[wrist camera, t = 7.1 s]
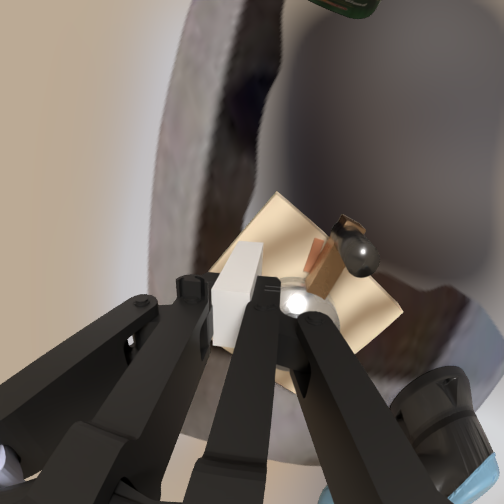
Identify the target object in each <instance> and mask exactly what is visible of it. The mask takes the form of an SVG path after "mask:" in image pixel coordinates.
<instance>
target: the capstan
mask: <svg viewBox="0 0 504 504" xmlns="http://www.w3.org/2000/svg"><path fill="white" fill-rule="evenodd" d="M365 231H366V230H365V228H363V227H362V225H361V224H359V223H358V222H356V221H354V220H352V219H350V218H349V217H347V216H345V215H343V214H342V215H341V216H340V218H339V220H338V222H337V223H336V224H335V225H334V226H333V228H332V230H331V235H330V237H329V239H328V241H327V242H326V244H325V246H324V248H323V250H322V251H321V253H320V255H319V257H318V259H317V260H316V262H315V264H314V266H313V267H312V269H311V271H310V273H309V274H308V276H307V278H306V279H305V278H301V277H283V278H279V280H280V281H281V294H280V309H281V311H282V312H283V313H284V314H286V315H288V316H290V317H293V318H297V317H298V316H299V315H300V314H301V313H303V312H307V311H318V312H322V313H324V314H326V315H328V316H329V317H330V318H331V319H332V321H333V322H334V324H335V325H336V327H337V328H338V330H339V331H340V321H339V317H338V314H337V310H336V307H335V304H334V301H333V299H332V297H331V295H330V294H329V293H330V291H331V289H332V288H333V286H334V284H335V283H336V281H337V280H338V278H339V276H340V275H341V273H342V271H343V270H344V268H345V266H346V268H347V270H348V272H349V273H350V274H351V275H353V276H354V277H357V278H365V277H368V276H370V275H372V274H373V273H374V272H375V271H376V269H377V268H378V266H379V263H380V256H379V253H378V251H377V249H376V248H375V247H374V246H373V245H372V244H371V243H370V241H369V240H368V239H367V238H366V237H365V236H364V233H365ZM276 369H279V370H282V371H288V372H290V371H289V368H286V367H283V366H280V365H276Z"/></svg>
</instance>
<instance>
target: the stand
mask: <svg viewBox="0 0 504 504" xmlns="http://www.w3.org/2000/svg"><path fill="white" fill-rule="evenodd" d="M328 239H329V236H327V235H326V234H325V233H324V232H323V231H322V230H321V229H320V228H319V227H317V226H316V225H315V224H314V223H313V222H312V221H311V220H310V219H308V218H307V217H306V216H305V215H304V214H303V213H302V212H300V211H299V210H298V209H297V208H296V207H295V206H293V205H292V204H291V203H290V202H289V201H288V200H287V199H285V198H284V197H283V196H282V195H281V194H280V193H278V192H276V193H275V194H274V195H273V196H272V197H271V198H270V199H269V201H268V202H267V203H266V204H265V205H264V207H263V208H262V209H261V210H260V211H259V212H258V213H257V215H256V216H255V217H254V218H253V219H252V221H251V222H250V223H249V224H248V225H247V226H246V227H245V229H244V230H243V231H242V232H241V233H240V234H239V236H238V237H237V238H236V239H235V240H234V241H233V243H232V244H231V245H230V246H229V247H228V249H227V250H226V251H225V252H224V253H223V254H222V256H221V257H220V258H219V259H218V260H217V262H216V263H215V264H214V265H213V266H212V268H211V269H210V270H209V271H208V272H215V273H221V271H222V269H223V268H224V266H225V264H226V262H227V260H228V259H229V257H230V255H231V253H232V251H233V250H234V248H235V246H236V244H237V243H238V241H248V242H262V243H264V244H263V261H262V276H269V277H278V279H279V278H283V277H301V278H305V279H306V278H307V276H308V274H309V273H310V271H311V269H312V267H313V266H314V264H315V262H316V260H317V259H318V257H319V255H320V253H321V251H322V250H323V248H324V246H325V244H326V242H327V241H328ZM329 294H330V295H331V297H332V299H333V301H334V304H335V307H336V310H337V314H338V317H339V321H340V333H341V334H342V336H343V337H344V339H345V340H346V342H347V343H348V345H349V346H350V348H351V349H352V351H353V353H354V354H355V353H357V352H358V351H359V350H360V349H362V348H363V347H364V346H365V345H367V344H368V343H369V342H370V341H371V340H373V339H374V338H375V337H376V336H377V335H378V334H380V333H381V332H382V331H383V330H384V329H385V328H386V327H388V326H389V325H390V324H391V323H392V322H393V321H394V320H395V319H396V318H397V317H399V316H400V315H401V314H402V313H403V311H402V309H401V307H400V306H399V304H398V303H397V302H396V301H395V300H394V299H393V298H392V297H391V296H390V295H389V294H388V293H387V292H386V291H385V290H384V289H383V288H382V287H381V286H380V285H379V284H378V283H377V282H376V281H375V280H374V279H373V278H372V277H371V276H368V277H365V278H357V277H354V276H353V275H351V274H350V273H349V272H348V270H347V268H346V266H345V268H344V270H343V271H342V273H341V275H340V276H339V278H338V280H337V281H336V283H335V284H334V286H333V288H332V289H331V291H330V293H329ZM211 340H213V336H212V339H211ZM221 347H222V346H221ZM223 348H224V349H226V350H227V351H228V352H230V353H231V354H233V351H234V348H230V347H223ZM275 382H277V383H278V384H280V385H282V386H283V387H285V388H287V389H288V390H290V391H292V392H293V393H295V394H296V391H295V388H294V385H293V382H292V379H291V376H290V372H288V371H282V370H279V369H276V374H275Z"/></svg>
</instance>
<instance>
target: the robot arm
mask: <svg viewBox="0 0 504 504" xmlns="http://www.w3.org/2000/svg"><path fill="white" fill-rule="evenodd" d="M263 244H264V243H262V242H248V241H238V243H237V244H236V246H235V248H234V250H233V251H232V253H231V255H230V257H229V259H228V260H227V262H226V264H225V266H224V268H223V269H222V271H221V273H215V272H207V273H205V274H203V275H202V276H201V275H184V276H181V277H179V278H177V279H176V289H177V299H176V300H175V301H174V303H173V304H172V305H158V301H157V299H156V297H154V296H152V295H147V294H144V295H143V294H140V295H137V296H134V297H131V298H130V299H128V300H126V301H125V302H124V303H122V304H120V305H119V306H117V307H115V308H114V309H112V310H111V311H109V312H108V313H106V314H105V315H103V316H101V317H100V318H98V319H97V320H96V321H94V322H92V323H91V324H89V325H88V326H86V327H85V328H83V329H82V330H80V331H79V332H77V333H76V334H74V335H73V336H71V337H69V338H68V339H66V340H65V341H63V342H62V343H60V344H59V345H58V346H56V347H55V348H53V349H52V350H50V351H49V352H47V353H46V354H44V355H43V356H41V357H40V358H38V359H37V360H36V361H34V362H32V363H31V364H30V365H28V366H27V367H25V368H24V369H22V370H21V371H19V372H18V373H17V374H15V375H14V376H12V377H11V378H9V379H8V380H7V381H6V382H4V383H2V384H1V385H0V504H263V499H264V491H265V483H266V474H267V457H268V448H269V438H270V428H271V418H272V408H273V397H274V385H275V374H276V365H280V366H283V367H286V368H289V371H290V376H291V379H292V382H293V385H294V388H295V391H296V394H297V397H298V400H299V403H300V406H301V409H302V412H303V415H304V417H305V420H306V423H307V426H308V429H309V432H310V435H311V438H312V441H313V444H314V447H315V450H316V453H317V456H318V458H319V461H320V464H321V467H322V470H323V473H324V476H325V479H326V482H327V486H326V487H325V488H324V489H323V491H322V493H321V495H320V498H319V501H318V504H471V503H473V502H474V501H476V500H477V499H478V498H479V497H480V496H482V495H483V494H485V493H486V492H487V491H488V490H489V489H490V488H491V487H492V486H493V485H494V484H495V483H496V481H497V479H498V477H499V467H498V464H497V461H496V459H495V452H493V450H492V448H491V446H490V443H489V442H488V439H487V437H486V435H485V433H484V430H483V428H482V426H481V424H480V422H479V420H478V419H477V416H476V414H475V412H474V410H473V405H472V397H471V389H470V383H469V380H468V378H467V376H466V374H465V373H464V371H463V370H462V369H461V368H459V367H456V366H445V367H441V368H437V369H435V370H432V371H430V372H428V373H426V374H424V375H422V376H420V377H419V378H417V379H416V380H414V381H413V382H411V383H410V384H409V385H408V386H407V387H405V388H404V389H403V390H402V391H401V392H400V393H399V394H398V396H397V397H396V398H395V400H394V401H393V403H392V405H391V408H390V409H389V408H388V406H387V404H386V403H385V401H384V400H383V398H382V396H381V395H380V393H379V392H378V390H377V388H376V387H375V385H374V384H373V382H372V381H371V379H370V377H369V376H368V374H367V373H366V371H365V370H364V368H363V366H362V365H361V363H360V362H359V360H358V359H357V357H356V356H355V354H354V353H353V351H352V349H351V348H350V346H349V345H348V343H347V342H346V340H345V339H344V337H343V336H342V334H341V333H340V331H339V330H338V328H337V327H336V325H335V324H334V322H333V321H332V319H331V318H330V317H329V316H328V315H326V314H324V313H322V312H318V311H307V312H303V313H301V314H300V315H299V316H298V317H297V318H293V317H290V316H288V315H286V314H284V313H283V312H282V311H281V309H280V294H281V281H280V280H279V279H278V277H269V276H262V261H263ZM130 336H133V341H134V343H133V344H132V345H129V344H128V340H127V339H128V338H129V337H130ZM212 336H213V345H214V346H222V347H230V348H234V351H233V355H232V358H231V362H230V365H229V369H228V372H227V376H226V379H225V383H224V386H223V390H222V393H221V397H220V400H219V404H218V407H217V411H216V414H215V418H214V421H213V424H212V428H211V431H210V435H209V438H208V442H207V445H206V448H205V452H204V454H203V456H202V457H201V458H199V459H198V460H197V462H196V463H195V466H194V468H193V471H192V474H191V478H190V481H189V484H188V487H187V490H186V493H185V497H184V500H183V503H181V502H164V501H160V497H161V482H162V479H163V476H164V473H165V471H166V468H167V465H168V463H169V460H170V458H171V455H172V452H173V450H174V447H175V444H176V442H177V439H178V436H179V434H180V431H181V428H182V426H183V423H184V420H185V418H186V415H187V412H188V410H189V407H190V404H191V402H192V399H193V397H194V394H195V391H196V389H197V386H198V383H199V381H200V378H201V375H202V373H203V370H204V368H205V365H206V362H207V360H208V357H209V354H210V341H211V339H212ZM41 470H42V471H41ZM39 471H41V473H40V474H39V475H38V477H37V478H35V479H32V480H29V481H25V480H24V479H26V478H28V477H30V476H32V475H34V474H36V473H38V472H39Z"/></svg>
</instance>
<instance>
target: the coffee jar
mask: <svg viewBox="0 0 504 504" xmlns="http://www.w3.org/2000/svg"><path fill="white" fill-rule="evenodd" d="M308 1H310V2H313V3H315V4H317V5H319V6H321V7H323V8H326V9H328V10H330V11H333V12H335V13H338V14H340V15H343V16H346V17H349V18H353V19H362V18H366V17H369V16H370V15H371V14H372V13H373V12H374V11H375V9H376V8H377V7H378V5H379V3H380V2H381V0H308Z"/></svg>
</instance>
